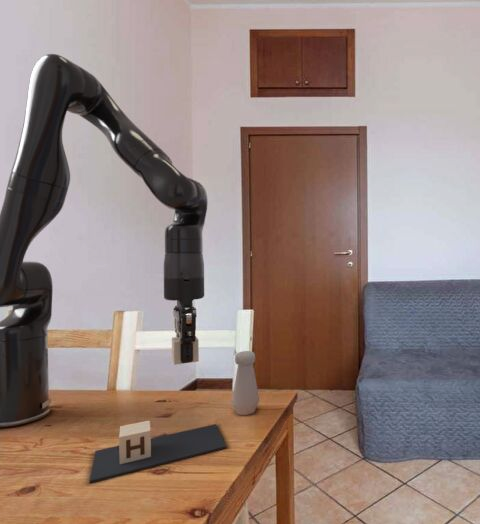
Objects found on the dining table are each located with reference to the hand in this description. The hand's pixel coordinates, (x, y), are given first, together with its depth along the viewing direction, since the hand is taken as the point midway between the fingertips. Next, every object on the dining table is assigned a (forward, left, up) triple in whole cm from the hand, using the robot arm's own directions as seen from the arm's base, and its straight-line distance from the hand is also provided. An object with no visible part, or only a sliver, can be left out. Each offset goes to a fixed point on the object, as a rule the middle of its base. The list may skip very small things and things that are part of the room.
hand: (185, 358), depth 76 cm
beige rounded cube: (-9, -10, -13) cm, 18 cm away
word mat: (-5, -10, -13) cm, 17 cm away
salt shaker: (+12, -1, -13) cm, 18 cm away
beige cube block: (0, 0, 0) cm, 0 cm away
